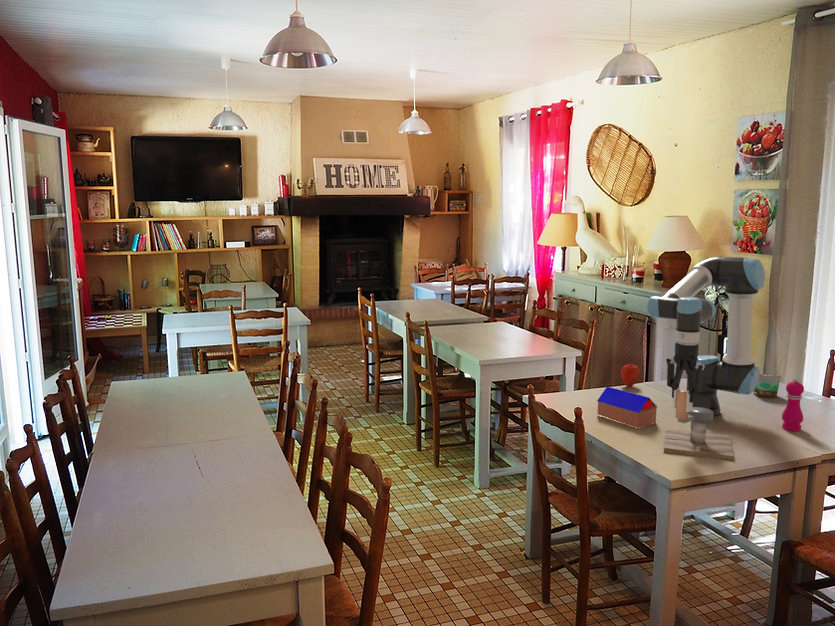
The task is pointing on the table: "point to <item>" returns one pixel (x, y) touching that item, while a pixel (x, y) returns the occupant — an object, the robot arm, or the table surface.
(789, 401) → the pepper mill
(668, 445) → the post base
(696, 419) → the crank handle
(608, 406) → the house
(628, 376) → the apple
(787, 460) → the table surface
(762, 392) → the food container
